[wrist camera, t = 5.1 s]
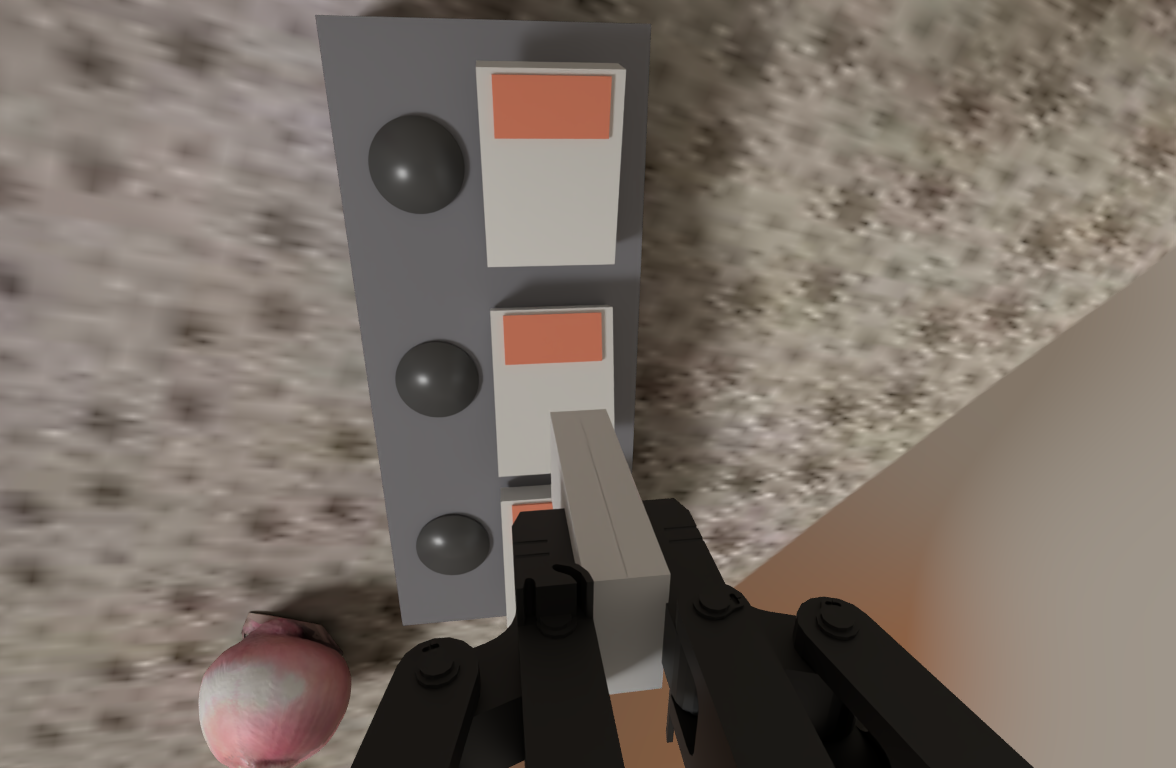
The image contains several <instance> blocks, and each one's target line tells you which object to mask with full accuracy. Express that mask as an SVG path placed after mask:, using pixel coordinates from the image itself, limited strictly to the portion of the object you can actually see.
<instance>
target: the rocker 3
mask: <svg viewBox="0 0 1176 768" xmlns="http://www.w3.org/2000/svg"><path fill="white" fill-rule="evenodd" d="M548 509H553V505H552V498H551V485H536V486H521V487H507V488H501V517H502V536H503V555H504V574H505V593H506V613H507V628H508V627H509V626H510V625H511V624H512V621H513V619H514V617H515V614H516V602H515V585H514V565H513V544H512V525H513V523H514V521H515V520H516V518H517V516H518V515H519V513H520V512H522V511H535V510H548Z"/></svg>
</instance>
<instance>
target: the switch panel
mask: <svg viewBox="0 0 1176 768" xmlns="http://www.w3.org/2000/svg"><path fill="white" fill-rule="evenodd" d="M315 17H316V24H317V31H318V38H319V45H320V52H321V59H322V66H323V73H324V80H325V87H326V94H327V101H328V108H329V115H330V122H331V129H332V136H333V143H334V150H335V157H336V163H337V170H338V177H339V184H340V191H341V198H342V205H343V212H344V219H345V226H346V233H347V240H348V247H349V254H350V261H351V268H352V275H353V282H354V289H355V296H356V303H357V310H358V317H359V324H360V331H361V338H362V345H363V352H364V359H365V366H366V373H367V380H368V387H369V394H370V400H371V407H372V414H373V421H374V428H375V435H376V442H377V449H378V456H379V463H380V470H381V477H382V484H383V491H384V498H385V505H386V512H387V519H388V526H389V533H390V540H391V547H392V554H393V561H394V568H395V575H396V582H397V589H398V596H399V603H400V610H401V617H402V624H403V626H404V625H415V624H426V623H436V622H447V621H458V620H468V619H479V618H490V617H500V616H507V613H506V593H505V574H504V555H503V536H502V517H501V488H507V487H521V486H536V485H551V474H536V475H520V476H505V477H499V473H498V454H497V434H496V415H495V395H494V376H493V356H492V337H491V317H490V309H491V308H515V307H546V306H578V305H609V306H611V307H613V365H614V431H615V433H616V436H617V438H618V441H619V444H620V446H621V449H622V451H623V454H624V456H625V459H626V461H627V464H628V467H629V469H630V472H631V474H632V462H633V438H634V415H635V392H636V368H637V345H638V321H639V298H640V274H641V251H642V228H643V204H644V181H645V157H646V134H647V110H648V87H649V64H650V40H651V24H635V23H597V22H559V21H522V20H484V19H446V18H409V17H371V16H333V15H315ZM476 61H527V62H581V63H618V64H620V65H621V66H622V67H623V68H625V69H626V80H625V96H624V113H623V130H622V147H621V164H620V181H619V198H618V215H617V231H616V248H615V264H603V265H560V266H517V267H488V265H487V248H486V231H485V215H484V198H483V181H482V164H481V147H480V131H479V114H478V97H477V80H476Z"/></svg>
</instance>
